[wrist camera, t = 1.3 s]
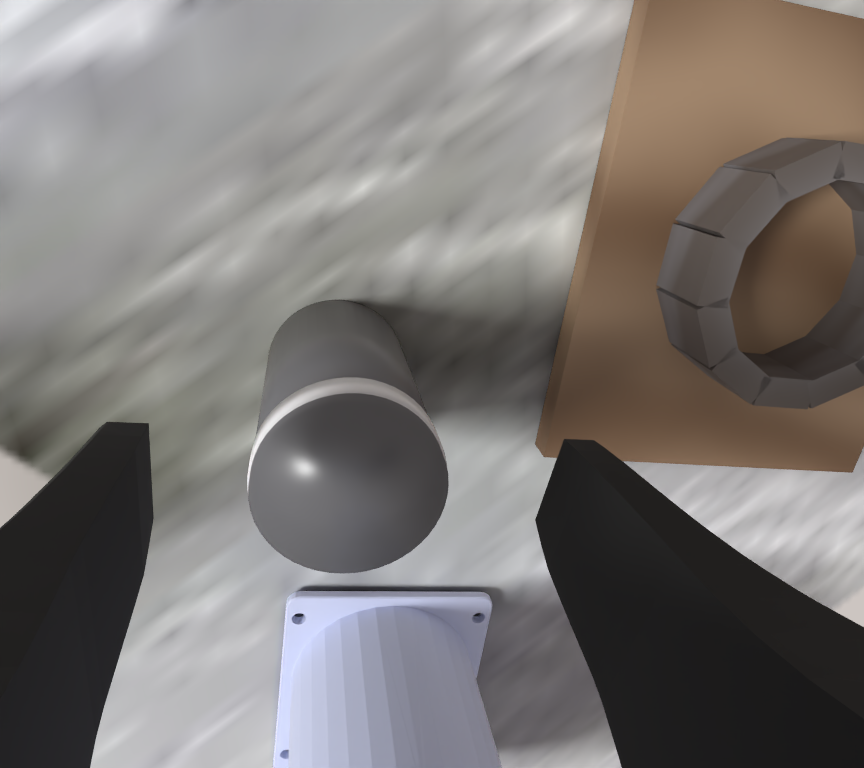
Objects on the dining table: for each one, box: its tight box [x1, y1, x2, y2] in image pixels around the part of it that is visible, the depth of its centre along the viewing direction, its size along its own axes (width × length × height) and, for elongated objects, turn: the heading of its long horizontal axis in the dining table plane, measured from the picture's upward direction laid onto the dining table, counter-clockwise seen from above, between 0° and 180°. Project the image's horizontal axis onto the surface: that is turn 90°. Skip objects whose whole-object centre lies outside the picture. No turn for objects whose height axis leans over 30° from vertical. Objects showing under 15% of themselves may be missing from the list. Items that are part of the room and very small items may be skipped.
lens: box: [247, 300, 448, 573], centre depth 18 cm, size 4×4×8 cm
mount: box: [535, 0, 864, 472], centre depth 22 cm, size 15×13×4 cm
